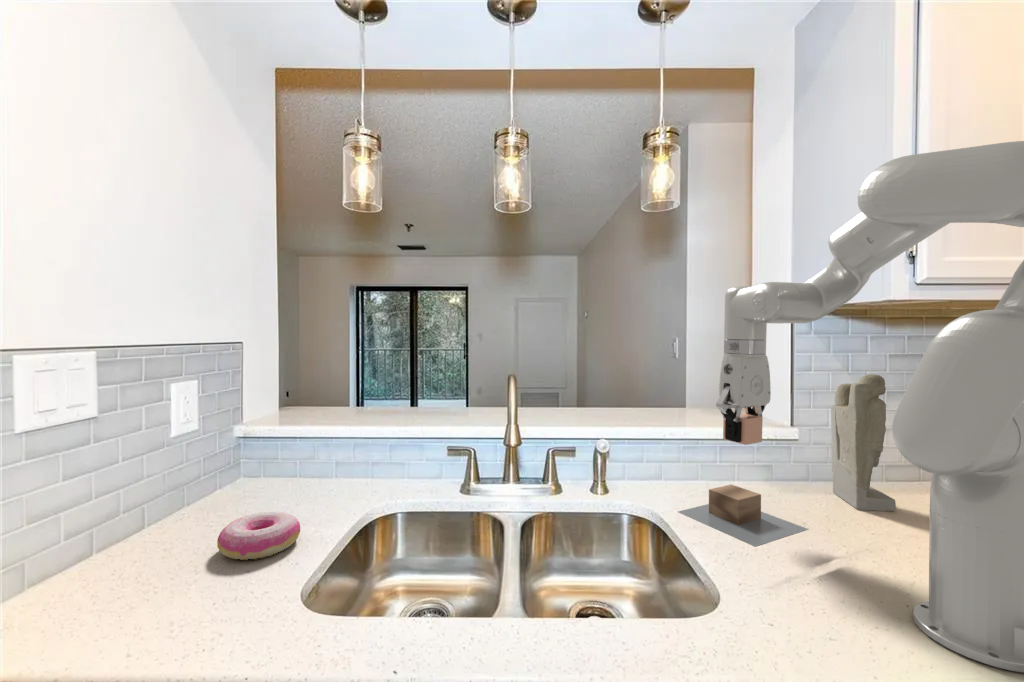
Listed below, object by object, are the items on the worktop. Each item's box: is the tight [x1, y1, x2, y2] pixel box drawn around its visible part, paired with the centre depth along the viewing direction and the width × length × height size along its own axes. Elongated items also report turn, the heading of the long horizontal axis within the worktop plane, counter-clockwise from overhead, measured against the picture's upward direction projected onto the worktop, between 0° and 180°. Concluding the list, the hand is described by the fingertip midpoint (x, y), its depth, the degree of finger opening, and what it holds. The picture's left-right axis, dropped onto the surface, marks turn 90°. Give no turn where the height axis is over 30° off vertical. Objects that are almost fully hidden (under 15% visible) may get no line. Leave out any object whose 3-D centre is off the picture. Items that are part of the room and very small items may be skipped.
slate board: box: [677, 503, 809, 548], centre depth 93 cm, size 18×16×1 cm
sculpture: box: [830, 373, 897, 512], centre depth 104 cm, size 15×8×30 cm, turn 168°
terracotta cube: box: [722, 412, 764, 446], centre depth 91 cm, size 5×5×5 cm
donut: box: [216, 511, 301, 561], centre depth 84 cm, size 14×13×5 cm
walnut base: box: [708, 484, 762, 525], centre depth 95 cm, size 7×7×5 cm
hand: (742, 438), depth 91 cm, fingers closed on terracotta cube, 5 cm apart
